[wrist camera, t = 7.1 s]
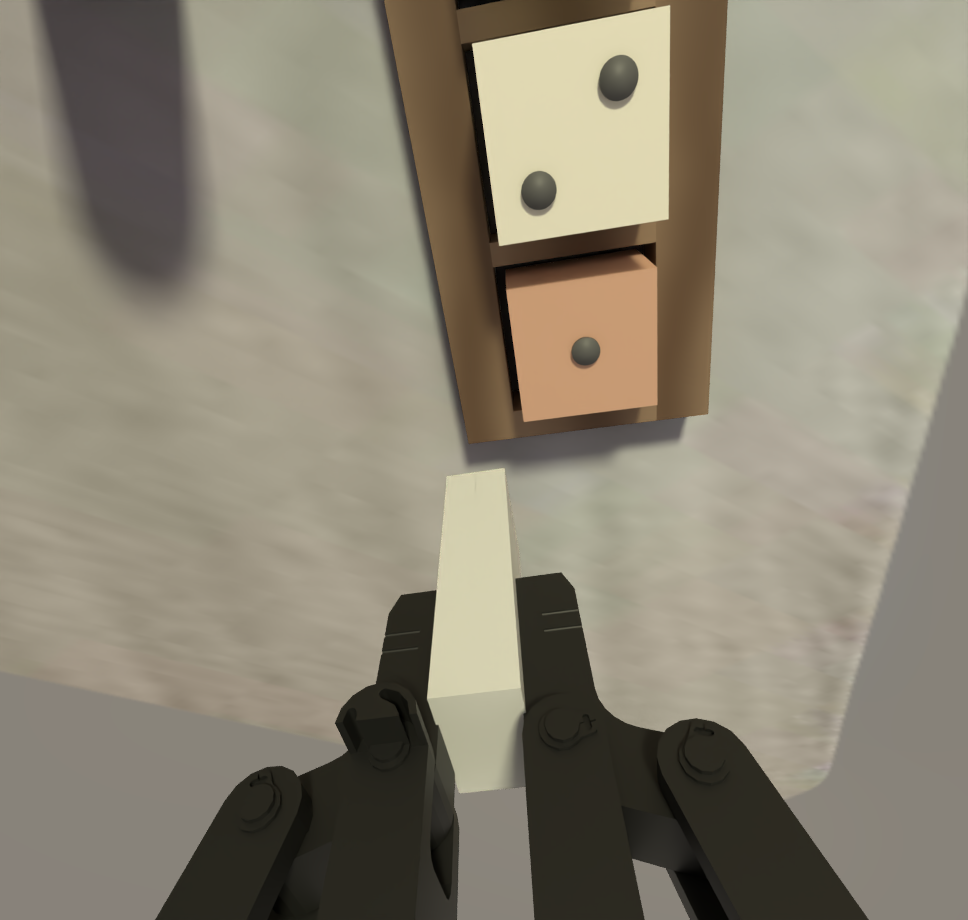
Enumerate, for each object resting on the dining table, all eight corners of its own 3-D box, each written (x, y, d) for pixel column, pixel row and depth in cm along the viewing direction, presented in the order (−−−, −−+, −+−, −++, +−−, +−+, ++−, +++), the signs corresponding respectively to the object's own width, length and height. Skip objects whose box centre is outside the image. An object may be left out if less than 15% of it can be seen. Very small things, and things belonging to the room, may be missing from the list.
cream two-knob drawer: (499, 229, 24) (499, 247, 20) (476, 57, 21) (471, 42, 17) (643, 205, 23) (669, 219, 20) (641, 26, 20) (671, 3, 17)
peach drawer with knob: (521, 387, 29) (523, 423, 26) (505, 269, 26) (506, 291, 23) (638, 371, 29) (658, 407, 25) (636, 249, 26) (658, 268, 22)
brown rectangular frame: (470, 422, 31) (468, 444, 29) (339, -286, 18) (318, -342, 16) (693, 393, 30) (708, 414, 28) (718, -385, 17) (749, -458, 15)
